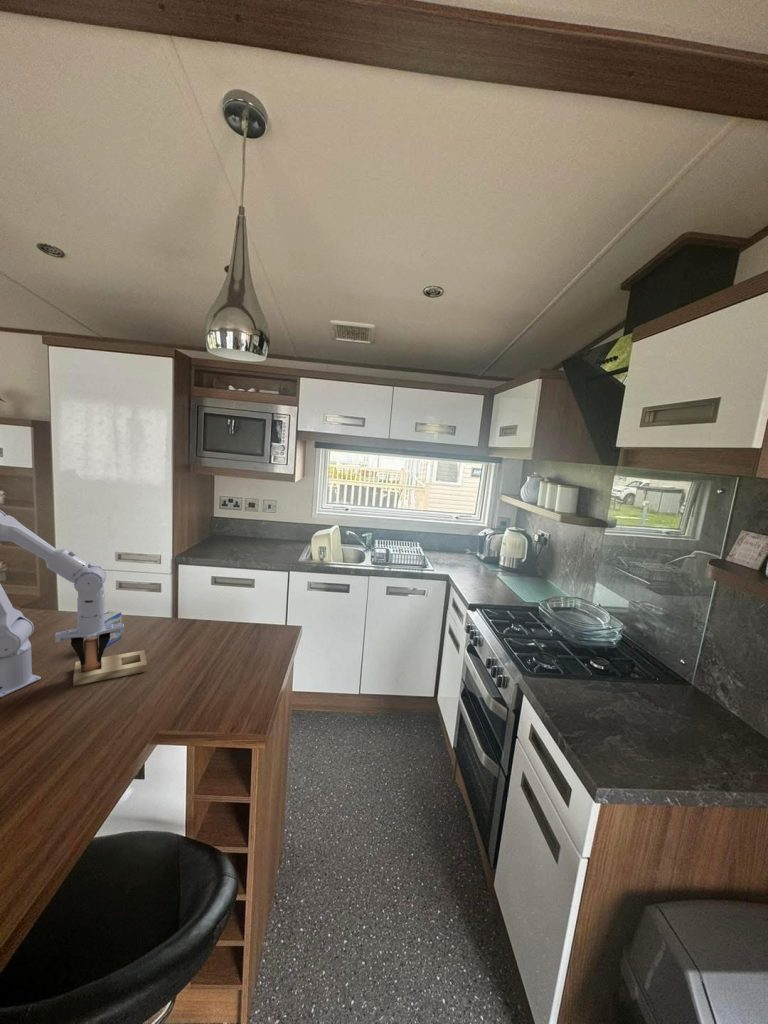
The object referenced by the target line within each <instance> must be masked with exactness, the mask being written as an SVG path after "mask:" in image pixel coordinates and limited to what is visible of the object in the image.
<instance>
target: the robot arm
mask: <svg viewBox="0 0 768 1024" xmlns="http://www.w3.org/2000/svg"><path fill="white" fill-rule="evenodd" d="M0 542H11V543H14V544H15V545H17V546H19V547H21V548H23V549H24V550H26V551H28V552H29V553H31V554H34V555H35V556H37V557H39V558H41V559H43V561H45V566H46V568H47V569H49V570H50V571H52V572H53V573H55V574H56V575H58V576H60V577H62V578H63V579H65V580H67V581H68V582H70V583H73V587H74V589H75V590H76V592H77V603H76V604H77V607H76V608H77V618H76V619H77V620H76V621H77V627H76V628H72V629H68V630H63V631H59V632H58V631H57V632H55V635H54V639H55V640H54V641H55V644H57V643H60V642H63V641H69V640H70V645H71V647H72V648H73V650H74V651H75V653H76V655H77V656H78V659H79V661H80V663H81V665H84V641H85V638H86V639H89V638H93V637H95V636H98V635H99V648H98V662H101V659H102V657H103V654H104V651H105V649H106V648H107V647H106V645H107V644H108V642H109V640H110V634H112V633H122V634H124V633H125V624H124V623H122V624H104V613H105V602H106V601H105V594H104V593H105V587H104V586H105V585H104V584H105V582H106V579H107V573H106V571H105V570H104V569H103V568H102V567H101V566H100V565H94V564H93V563H92V562H90V563H88V562H87V561H85V560H84V559H82V558H81V557H80V556H78V555H77V554H78V553H77V552H76V551H75V550H73V549H72V550H68V549H67V548H65V549H64V548H63V549H59V548H58V549H57V548H56V547H54V546H53V545H51V544H50V543H48V542H47V541H45V540H44V539H43V538H41V537H40V536H38V534H36V533H35V532H33V531H32V530H30V529H28V528H27V527H26V526H25V525H24V524H22V523H20V521H19V520H17V519H16V518H15V517H14V516H11V515H9V514H8V515H7V514H6V513H5V512H4V511H3V510H1V509H0ZM34 631H35V626H34V623H33V622H32V621H31V620H30V619H28V618H26V617H25V616H24V614H23V612H22V611H21V610H18V609H17V608H14V606H13V603H11V601H10V599H9V597H8V595H7V593H6V591H5V590H4V588H3V586H2V584H1V583H0V698H3V697H5V696H7V695H10V694H11V693H13V692H16V691H18V690H20V689H22V688H24V687H26V686H29V685H31V684H33V683H36V682H38V681H39V680H41V679H42V677H41V676H39V675H36V674H33V668H32V667H33V666H32V665H33V663H32V643H31V642H30V640H29V639H30V638H31V636H32V635H33V633H34ZM105 647H106V648H105Z"/></svg>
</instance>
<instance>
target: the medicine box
mask: <svg viewBox="0 0 768 1024" xmlns="http://www.w3.org/2000/svg"><path fill="white" fill-rule="evenodd" d="M122 615H123V614H122V612H120V611H116V610H115V611H112V610H108V611H107V612H104V624H123V623H122ZM122 634H123V633H112V634H110V640H109V642H108V644H107V645H106V647H105V649H106V648H107V647H109V646H110V645H112V644H113V643H115V642H116V641H118V640H119V639H120V638H122V637H123V636H122ZM93 638H98V649H99V635H98V636H95V637H93Z"/></svg>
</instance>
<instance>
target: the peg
mask: <svg viewBox="0 0 768 1024" xmlns="http://www.w3.org/2000/svg"><path fill="white" fill-rule="evenodd" d="M98 652H99V648H98V638H86V639H84V671H83V672H88V671H93V670H99V669H98Z"/></svg>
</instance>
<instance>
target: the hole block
mask: <svg viewBox="0 0 768 1024" xmlns="http://www.w3.org/2000/svg"><path fill="white" fill-rule="evenodd" d="M147 670H148V662H147V657H146V652H145V650H144V649H143V650H138V651H132V652H126V653H119V654H114V655H113V654H112V655H109V656H102V659H101V662H98V670H93V671H88V672H84V665H81V663H80V660H79V661H75V666H74V671H73V686H79V685H84V684H91V683H93V682H99V681H104V680H110V679H114V678H120V677H124V676H125V677H126V676H130V675H135V674H138V673H139V674H140V673H145V672H148V671H147Z"/></svg>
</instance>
